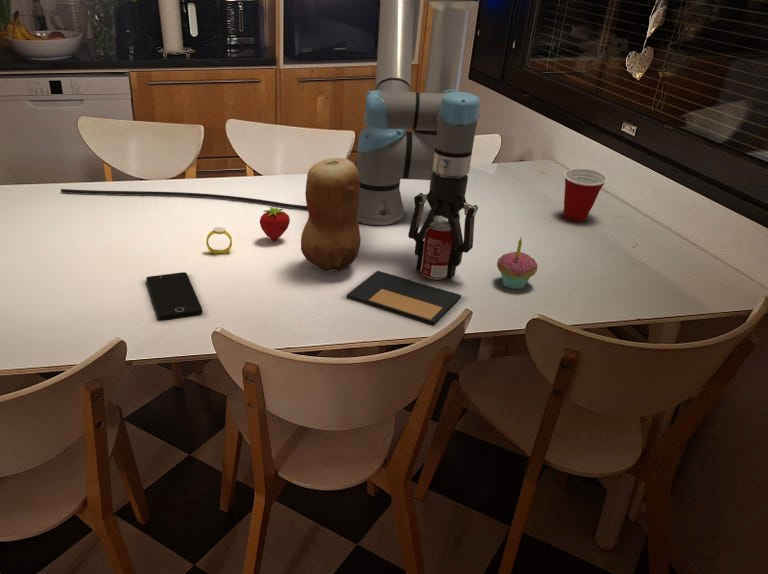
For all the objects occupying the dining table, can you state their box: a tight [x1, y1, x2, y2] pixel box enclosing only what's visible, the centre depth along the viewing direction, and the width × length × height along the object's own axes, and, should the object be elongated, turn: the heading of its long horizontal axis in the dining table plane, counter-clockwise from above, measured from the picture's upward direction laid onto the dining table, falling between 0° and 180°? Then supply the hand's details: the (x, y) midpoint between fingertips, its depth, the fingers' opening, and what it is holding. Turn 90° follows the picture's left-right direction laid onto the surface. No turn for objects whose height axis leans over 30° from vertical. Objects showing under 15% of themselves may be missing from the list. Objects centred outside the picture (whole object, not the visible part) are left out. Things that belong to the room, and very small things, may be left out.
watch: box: [205, 226, 233, 254], centre depth 161 cm, size 6×3×6 cm, turn 96°
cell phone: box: [146, 271, 203, 320], centre depth 144 cm, size 9×18×1 cm, turn 18°
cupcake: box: [496, 236, 539, 290], centre depth 148 cm, size 9×8×12 cm
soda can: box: [419, 219, 454, 281], centre depth 151 cm, size 7×7×12 cm
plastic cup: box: [563, 167, 609, 223], centre depth 181 cm, size 11×11×12 cm
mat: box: [346, 270, 462, 326], centre depth 145 cm, size 20×14×1 cm
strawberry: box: [259, 204, 291, 242], centre depth 166 cm, size 6×8×10 cm
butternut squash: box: [300, 157, 362, 272], centre depth 149 cm, size 14×13×25 cm
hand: (435, 273), depth 154 cm, fingers closed on soda can, 7 cm apart
